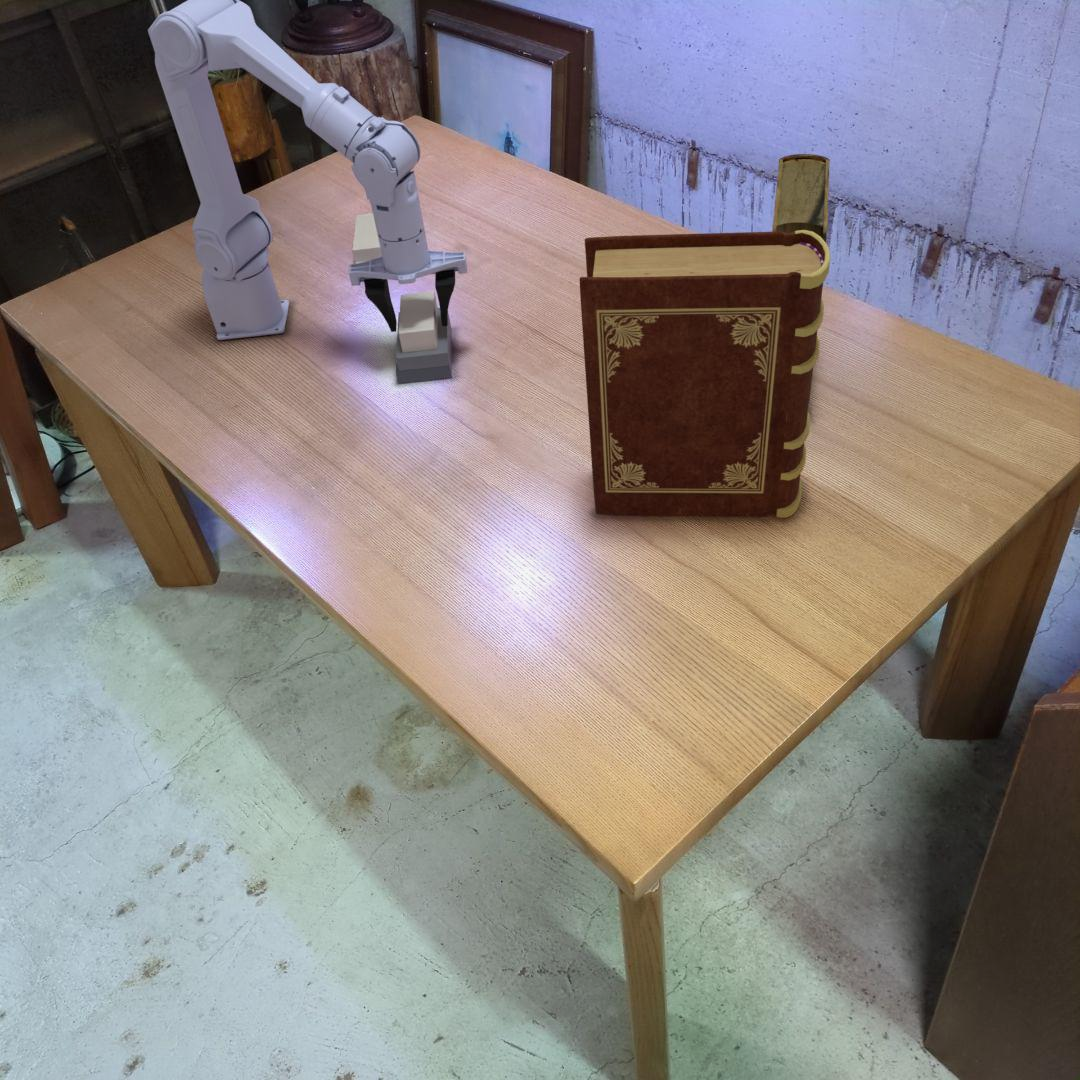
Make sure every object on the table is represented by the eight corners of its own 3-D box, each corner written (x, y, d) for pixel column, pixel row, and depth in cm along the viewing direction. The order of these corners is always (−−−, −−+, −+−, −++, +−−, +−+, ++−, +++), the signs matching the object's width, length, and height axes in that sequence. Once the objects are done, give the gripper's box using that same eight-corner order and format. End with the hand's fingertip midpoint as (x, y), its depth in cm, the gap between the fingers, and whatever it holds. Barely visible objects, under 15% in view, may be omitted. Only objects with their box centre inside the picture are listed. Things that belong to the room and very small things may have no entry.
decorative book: (798, 469, 119) (826, 227, 98) (803, 519, 114) (834, 274, 92) (599, 469, 122) (584, 234, 101) (595, 517, 116) (578, 280, 95)
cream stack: (357, 275, 157) (351, 251, 154) (361, 238, 165) (356, 214, 162) (404, 270, 157) (399, 246, 154) (406, 233, 165) (401, 209, 162)
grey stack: (398, 384, 137) (392, 358, 134) (400, 335, 145) (395, 310, 142) (451, 378, 137) (447, 352, 134) (451, 330, 145) (447, 305, 142)
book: (765, 338, 137) (779, 153, 119) (809, 340, 136) (829, 154, 118) (758, 418, 126) (772, 227, 108) (805, 421, 125) (827, 228, 107)
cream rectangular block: (402, 353, 135) (398, 333, 133) (404, 313, 141) (400, 294, 139) (437, 349, 135) (433, 329, 133) (438, 310, 141) (434, 290, 139)
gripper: (338, 253, 125) (362, 348, 135) (460, 239, 125) (475, 336, 134) (342, 223, 130) (365, 317, 140) (459, 210, 130) (474, 305, 139)
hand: (419, 324), depth 137 cm, fingers open, 6 cm apart
